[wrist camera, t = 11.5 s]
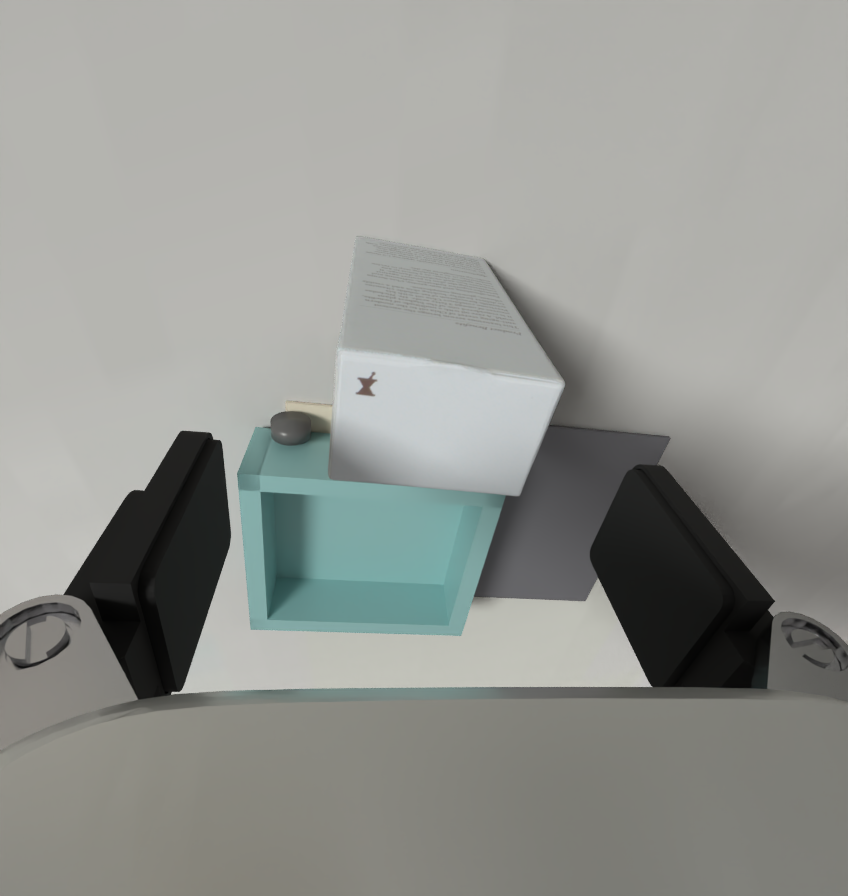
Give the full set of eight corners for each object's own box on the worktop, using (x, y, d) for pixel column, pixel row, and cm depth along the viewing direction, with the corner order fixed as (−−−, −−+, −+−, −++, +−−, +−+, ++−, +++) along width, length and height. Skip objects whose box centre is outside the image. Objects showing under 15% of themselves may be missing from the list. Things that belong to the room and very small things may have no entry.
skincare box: (346, 325, 24) (320, 482, 14) (355, 232, 21) (331, 342, 11) (467, 344, 25) (523, 502, 15) (489, 257, 22) (572, 378, 12)
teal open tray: (496, 429, 27) (512, 474, 24) (450, 596, 35) (457, 646, 32) (254, 407, 25) (235, 452, 22) (264, 588, 33) (251, 641, 30)
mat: (668, 436, 29) (670, 438, 29) (584, 598, 37) (585, 601, 37) (286, 400, 26) (285, 402, 26) (288, 586, 34) (288, 589, 34)
